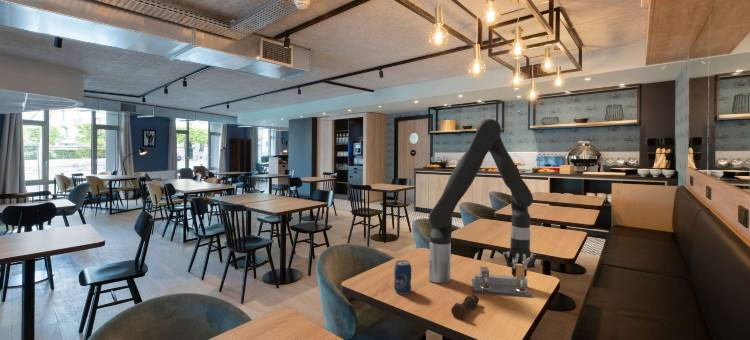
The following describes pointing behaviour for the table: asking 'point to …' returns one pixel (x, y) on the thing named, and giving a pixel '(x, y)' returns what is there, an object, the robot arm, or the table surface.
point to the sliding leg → (520, 273)
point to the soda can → (402, 277)
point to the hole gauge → (499, 284)
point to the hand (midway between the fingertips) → (518, 276)
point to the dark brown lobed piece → (464, 307)
